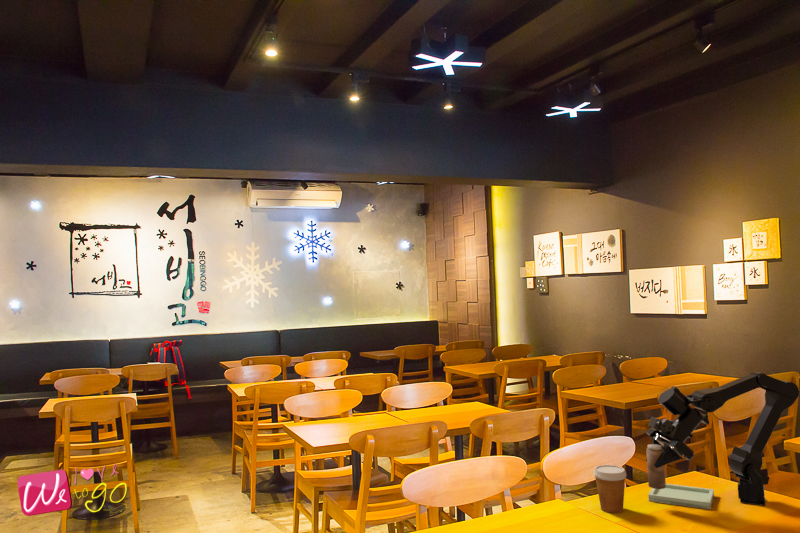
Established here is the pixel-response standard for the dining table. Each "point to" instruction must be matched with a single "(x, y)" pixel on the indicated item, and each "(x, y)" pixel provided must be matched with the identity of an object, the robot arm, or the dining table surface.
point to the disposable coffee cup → (610, 487)
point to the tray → (683, 496)
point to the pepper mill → (655, 474)
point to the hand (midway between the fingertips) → (651, 464)
